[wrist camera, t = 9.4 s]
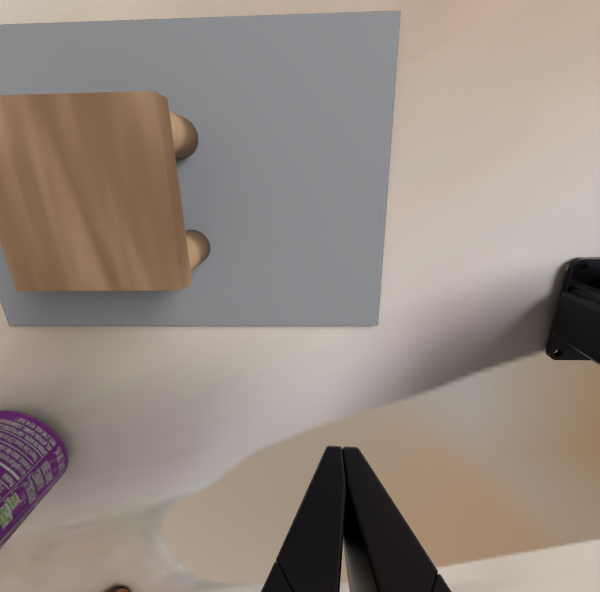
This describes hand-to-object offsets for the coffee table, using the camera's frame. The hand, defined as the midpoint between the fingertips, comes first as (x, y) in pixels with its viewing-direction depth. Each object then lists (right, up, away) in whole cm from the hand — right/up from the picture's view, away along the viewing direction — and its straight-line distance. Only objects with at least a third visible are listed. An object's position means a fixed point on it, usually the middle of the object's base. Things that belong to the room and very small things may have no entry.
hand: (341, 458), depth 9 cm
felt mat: (-8, +10, +10) cm, 16 cm away
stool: (-6, +9, +7) cm, 13 cm away
